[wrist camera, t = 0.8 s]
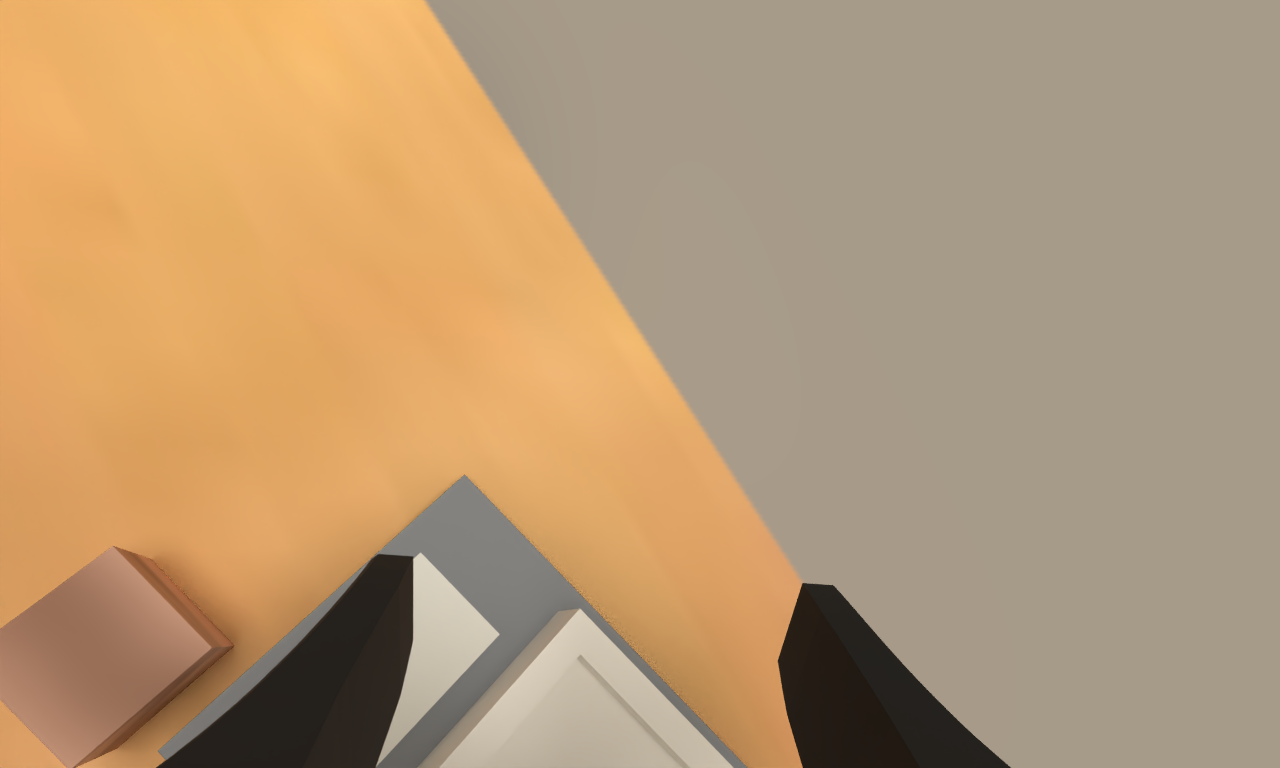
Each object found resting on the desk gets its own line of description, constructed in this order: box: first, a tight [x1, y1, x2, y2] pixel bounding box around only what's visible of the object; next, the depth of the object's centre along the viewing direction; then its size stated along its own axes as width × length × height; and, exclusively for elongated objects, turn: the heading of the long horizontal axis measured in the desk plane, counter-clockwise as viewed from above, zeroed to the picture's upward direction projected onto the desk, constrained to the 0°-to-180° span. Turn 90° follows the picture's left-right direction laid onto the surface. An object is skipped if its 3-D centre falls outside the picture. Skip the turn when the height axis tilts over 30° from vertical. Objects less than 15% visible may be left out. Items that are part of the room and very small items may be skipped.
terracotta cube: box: [0, 546, 234, 768], centre depth 21 cm, size 4×4×4 cm
